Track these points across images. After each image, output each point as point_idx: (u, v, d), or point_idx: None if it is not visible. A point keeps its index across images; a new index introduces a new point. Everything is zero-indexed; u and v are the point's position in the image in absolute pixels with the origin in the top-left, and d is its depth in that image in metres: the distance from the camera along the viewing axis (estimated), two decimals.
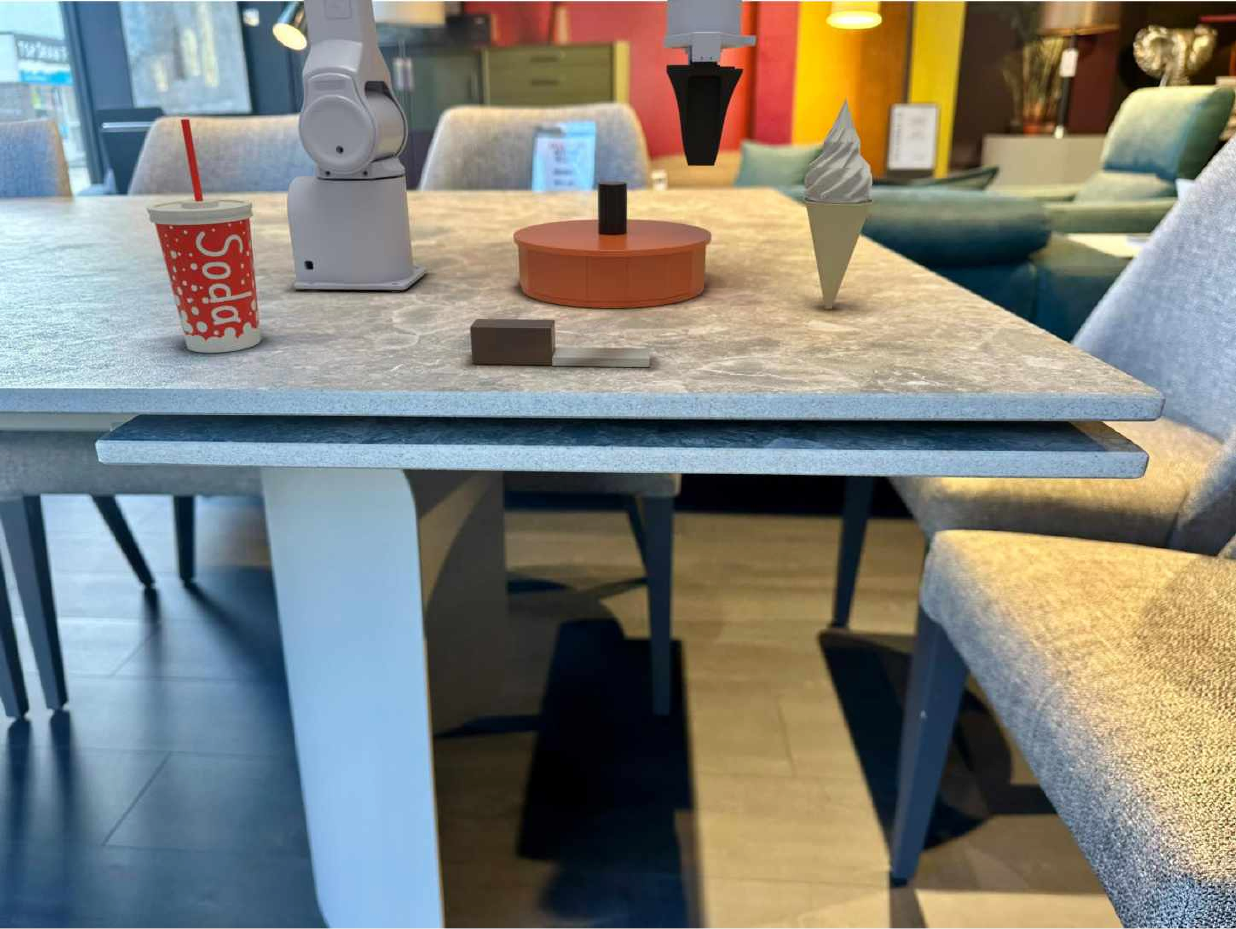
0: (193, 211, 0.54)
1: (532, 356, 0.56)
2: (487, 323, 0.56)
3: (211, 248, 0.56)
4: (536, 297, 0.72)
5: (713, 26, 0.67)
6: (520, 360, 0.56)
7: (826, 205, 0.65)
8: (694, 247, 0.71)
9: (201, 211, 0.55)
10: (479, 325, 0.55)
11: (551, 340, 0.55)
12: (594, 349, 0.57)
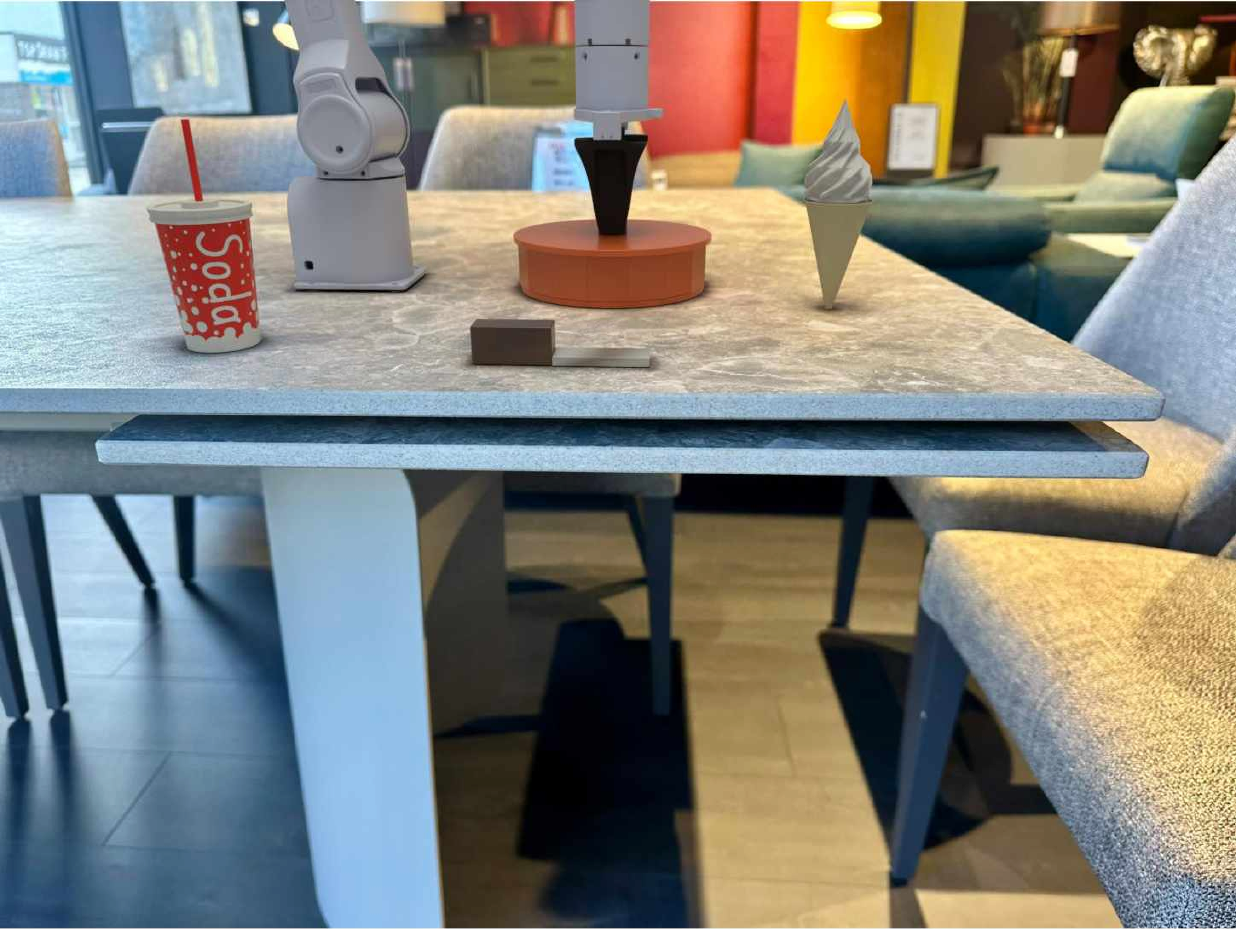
0: (193, 211, 0.54)
1: (532, 356, 0.56)
2: (487, 323, 0.56)
3: (211, 248, 0.56)
4: (536, 297, 0.72)
5: (618, 102, 0.69)
6: (520, 360, 0.56)
7: (826, 205, 0.65)
8: (694, 247, 0.71)
9: (201, 211, 0.55)
10: (479, 325, 0.55)
11: (551, 340, 0.55)
12: (594, 349, 0.57)
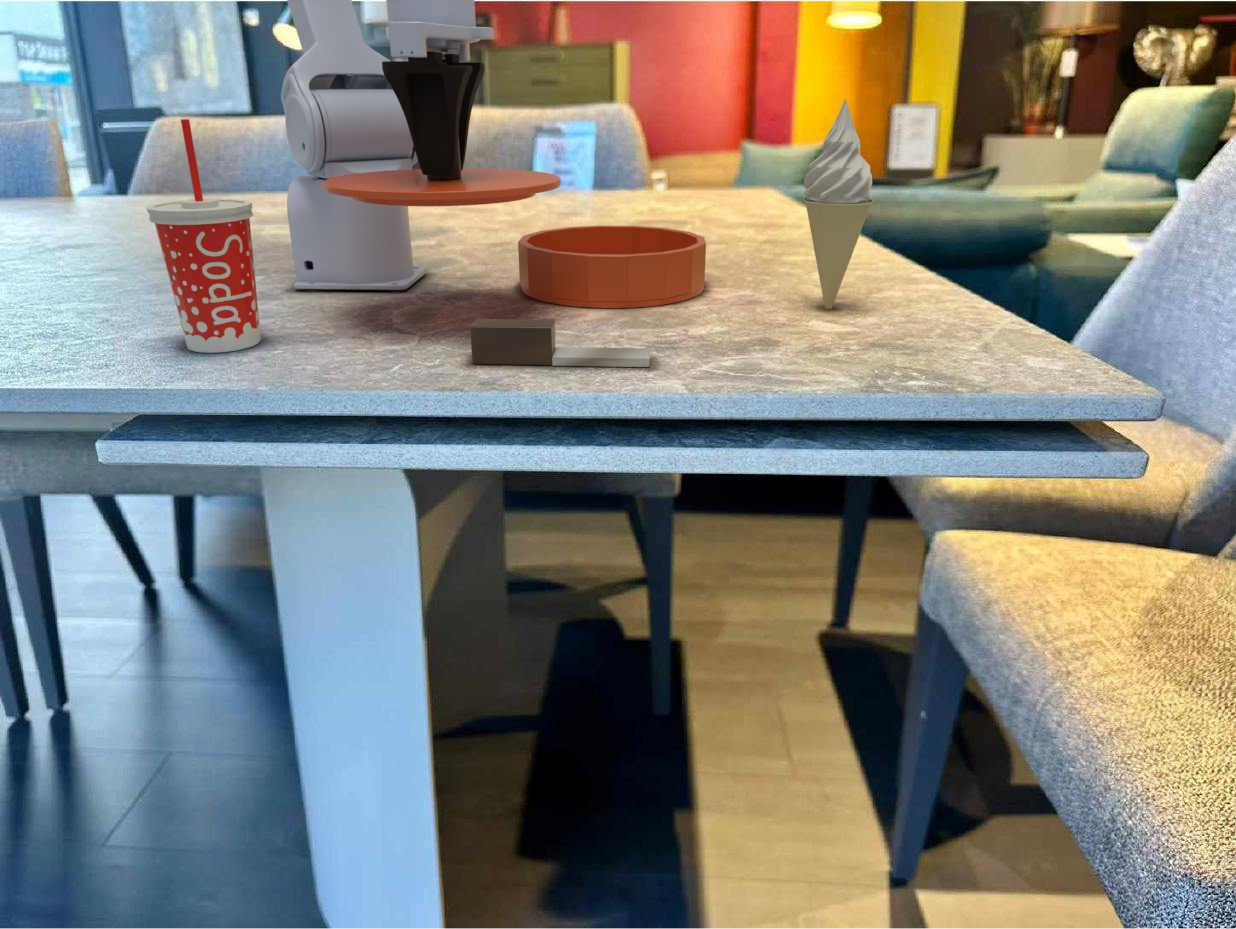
0: (193, 211, 0.54)
1: (532, 356, 0.56)
2: (487, 323, 0.56)
3: (211, 248, 0.56)
4: (536, 297, 0.72)
5: (430, 16, 0.57)
6: (520, 360, 0.56)
7: (826, 205, 0.65)
8: (529, 191, 0.59)
9: (201, 211, 0.55)
10: (479, 325, 0.55)
11: (551, 340, 0.55)
12: (594, 349, 0.57)
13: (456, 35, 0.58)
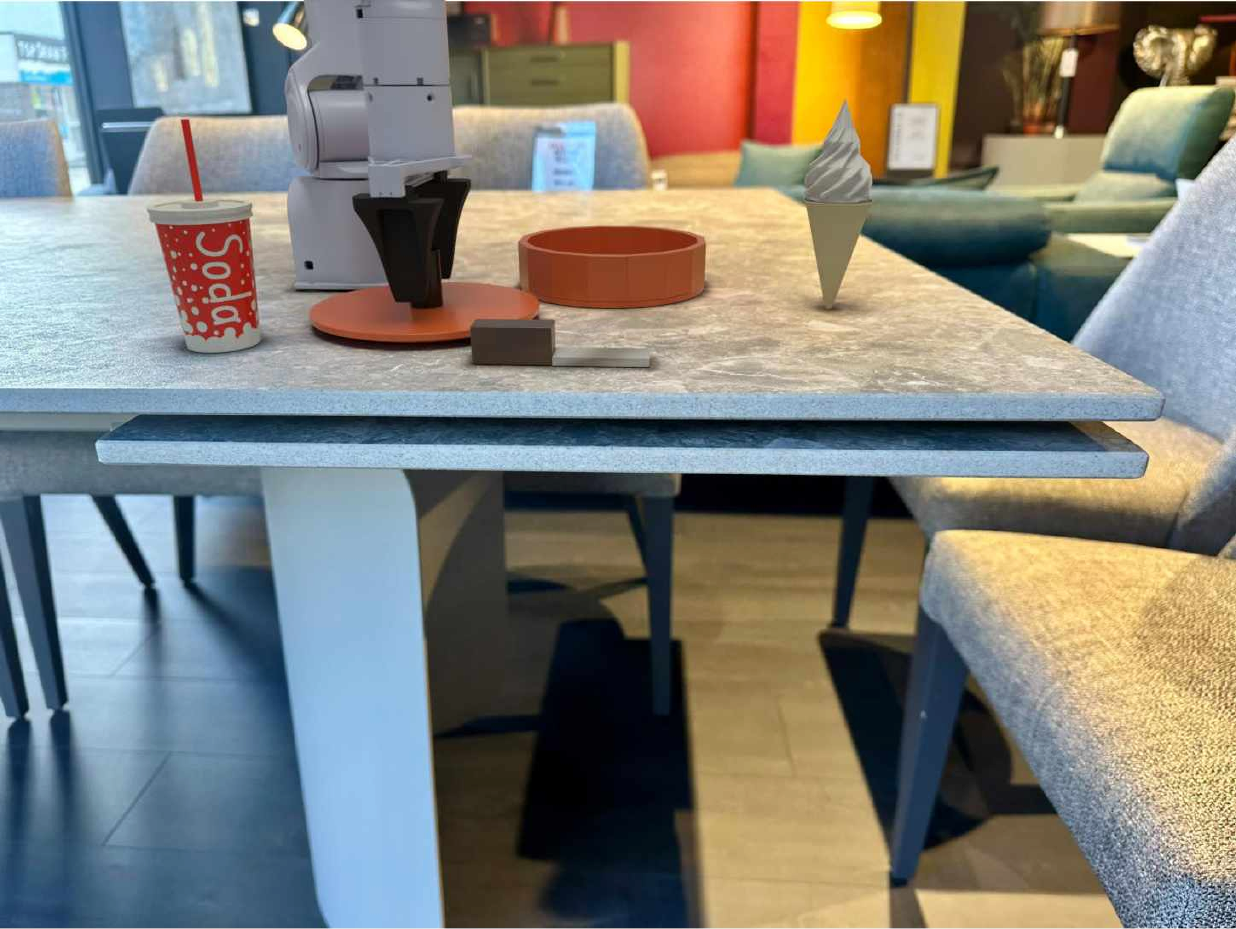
0: (193, 211, 0.54)
1: (532, 356, 0.56)
2: (487, 323, 0.56)
3: (211, 248, 0.56)
4: (536, 297, 0.72)
5: (410, 150, 0.59)
6: (520, 360, 0.56)
7: (826, 205, 0.65)
8: None
9: (201, 211, 0.55)
10: (479, 325, 0.55)
11: (551, 340, 0.55)
12: (594, 349, 0.57)
13: (435, 168, 0.59)
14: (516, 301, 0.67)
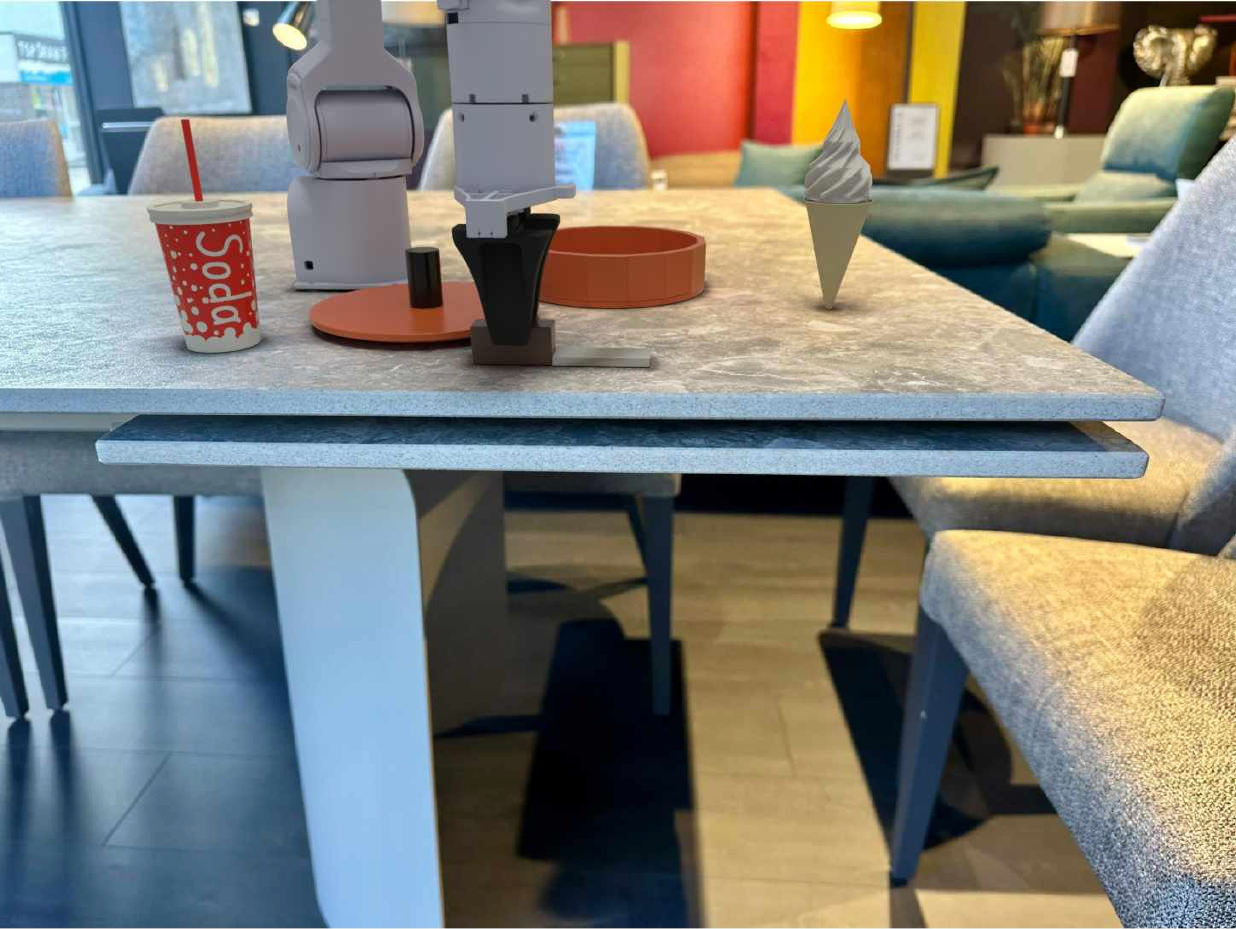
0: (193, 211, 0.54)
1: (532, 356, 0.56)
2: None
3: (211, 248, 0.56)
4: None
5: (508, 180, 0.50)
6: (520, 360, 0.56)
7: (826, 205, 0.65)
8: None
9: (201, 211, 0.55)
10: (479, 325, 0.55)
11: (551, 340, 0.55)
12: (594, 349, 0.57)
13: (537, 201, 0.50)
14: None
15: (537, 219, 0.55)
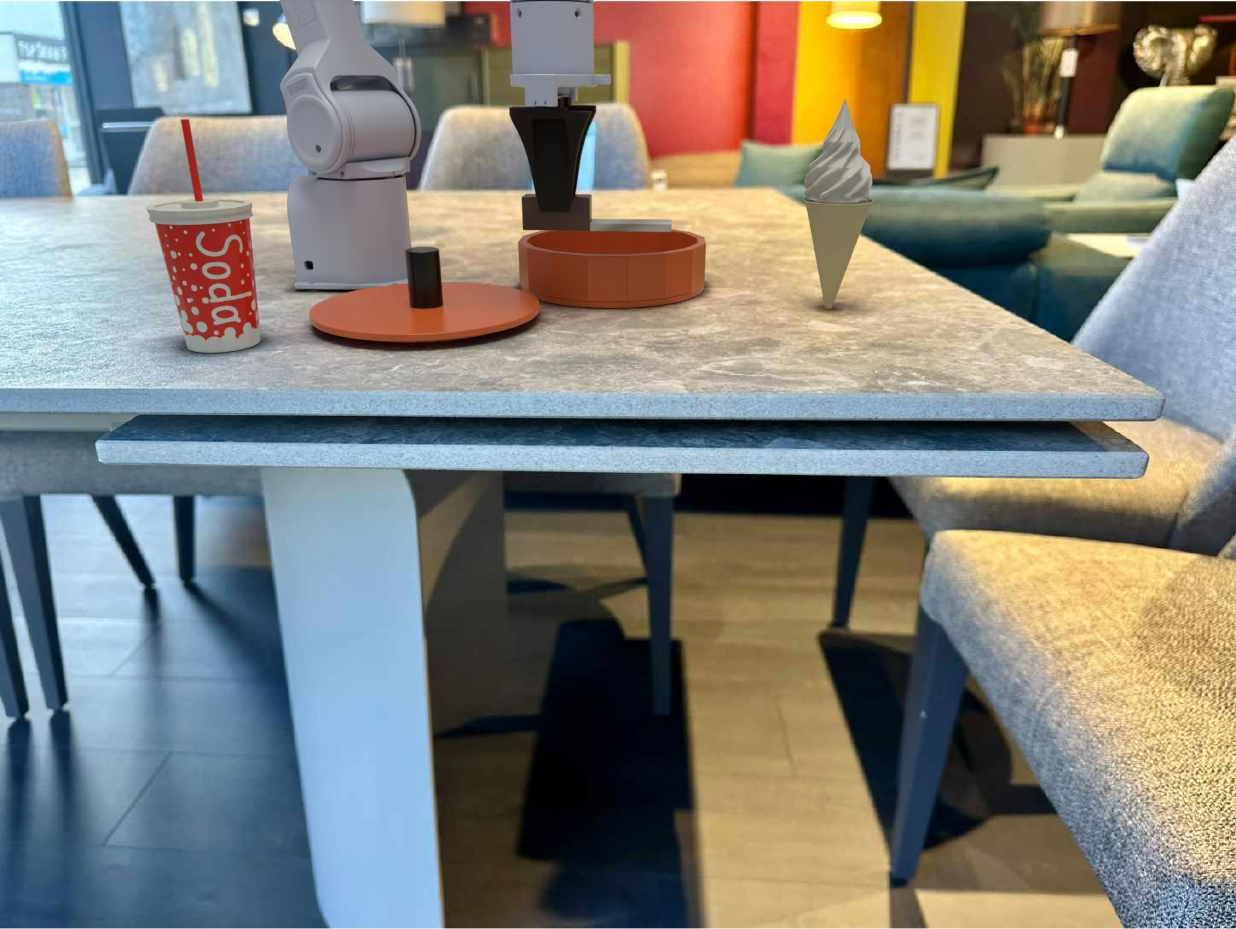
0: (193, 211, 0.54)
1: (573, 223, 0.67)
2: (535, 195, 0.67)
3: (211, 248, 0.56)
4: (536, 297, 0.72)
5: (557, 65, 0.61)
6: (563, 226, 0.67)
7: (826, 205, 0.65)
8: (507, 326, 0.61)
9: (201, 211, 0.55)
10: (529, 196, 0.66)
11: (589, 209, 0.66)
12: (624, 220, 0.68)
13: (580, 83, 0.61)
14: (516, 301, 0.67)
15: (578, 106, 0.65)
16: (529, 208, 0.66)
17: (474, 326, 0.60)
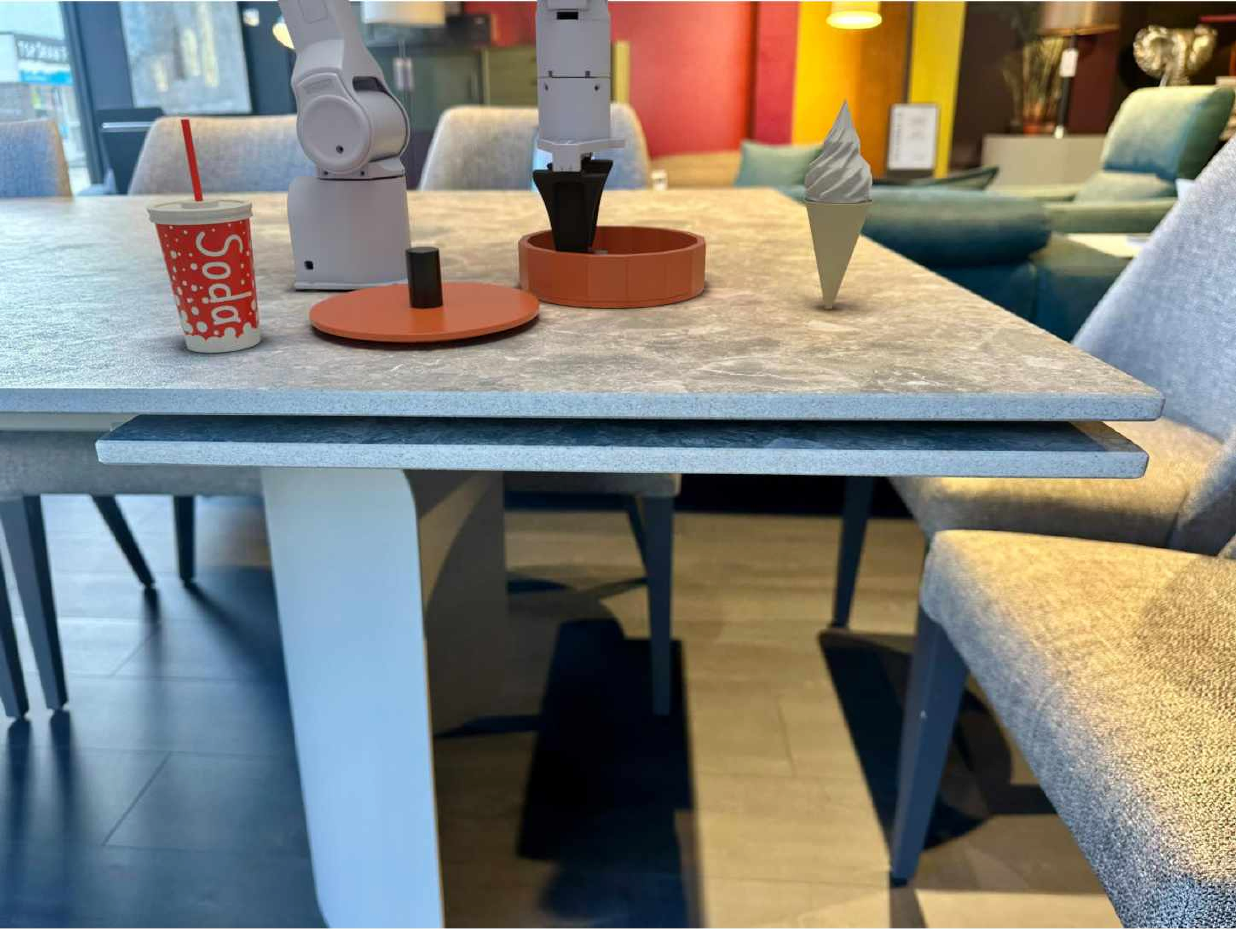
0: (193, 211, 0.54)
1: None
2: None
3: (211, 248, 0.56)
4: (536, 297, 0.72)
5: (579, 133, 0.70)
6: None
7: (826, 205, 0.65)
8: (507, 326, 0.61)
9: (201, 211, 0.55)
10: None
11: None
12: None
13: (599, 148, 0.70)
14: (516, 301, 0.67)
15: (597, 162, 0.77)
16: None
17: (474, 326, 0.60)
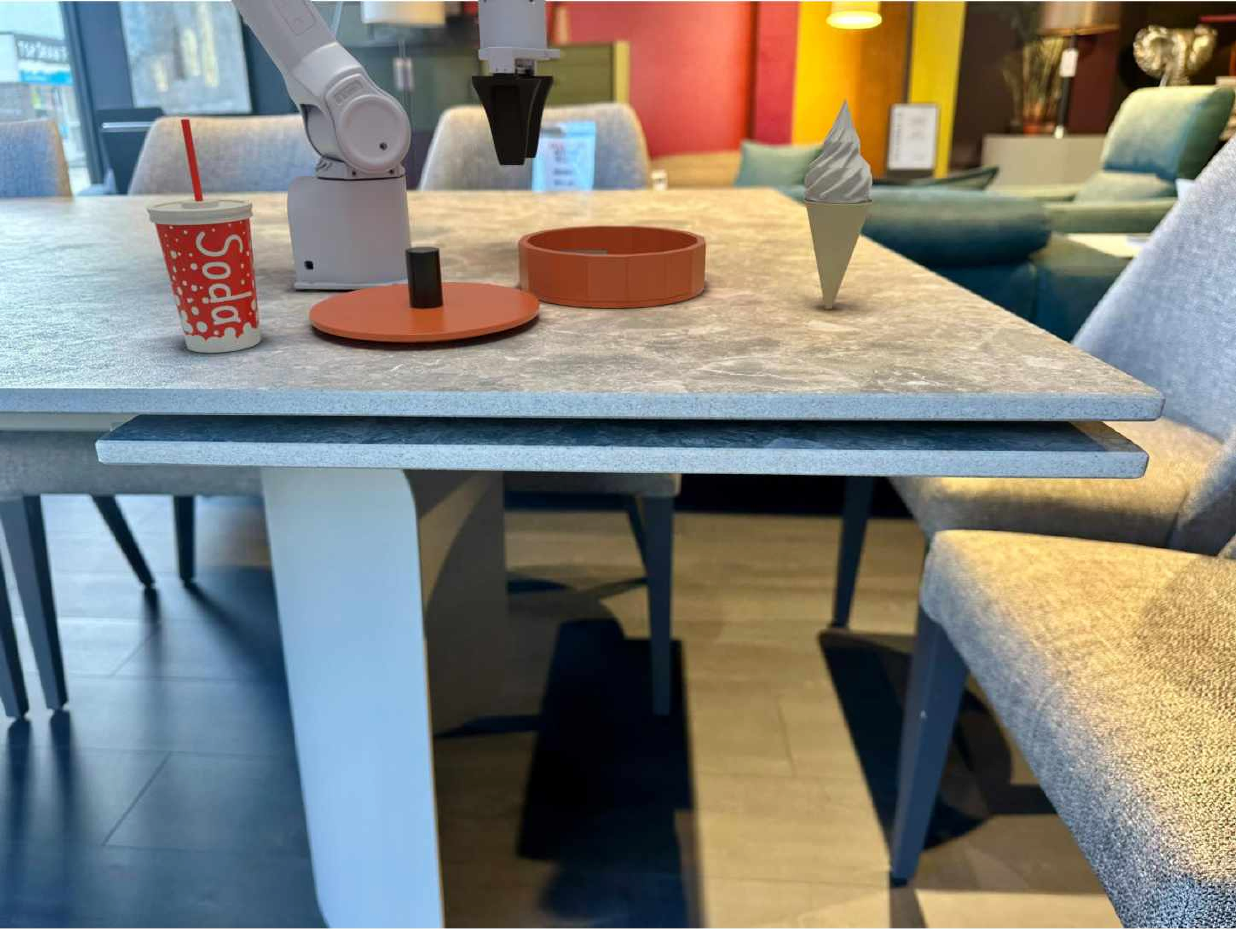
0: (193, 211, 0.54)
1: None
2: None
3: (211, 248, 0.56)
4: (536, 297, 0.72)
5: (515, 41, 0.75)
6: None
7: (826, 205, 0.65)
8: (507, 326, 0.61)
9: (201, 211, 0.55)
10: None
11: None
12: None
13: (534, 56, 0.76)
14: (516, 301, 0.67)
15: (538, 76, 0.82)
16: None
17: (474, 326, 0.60)
